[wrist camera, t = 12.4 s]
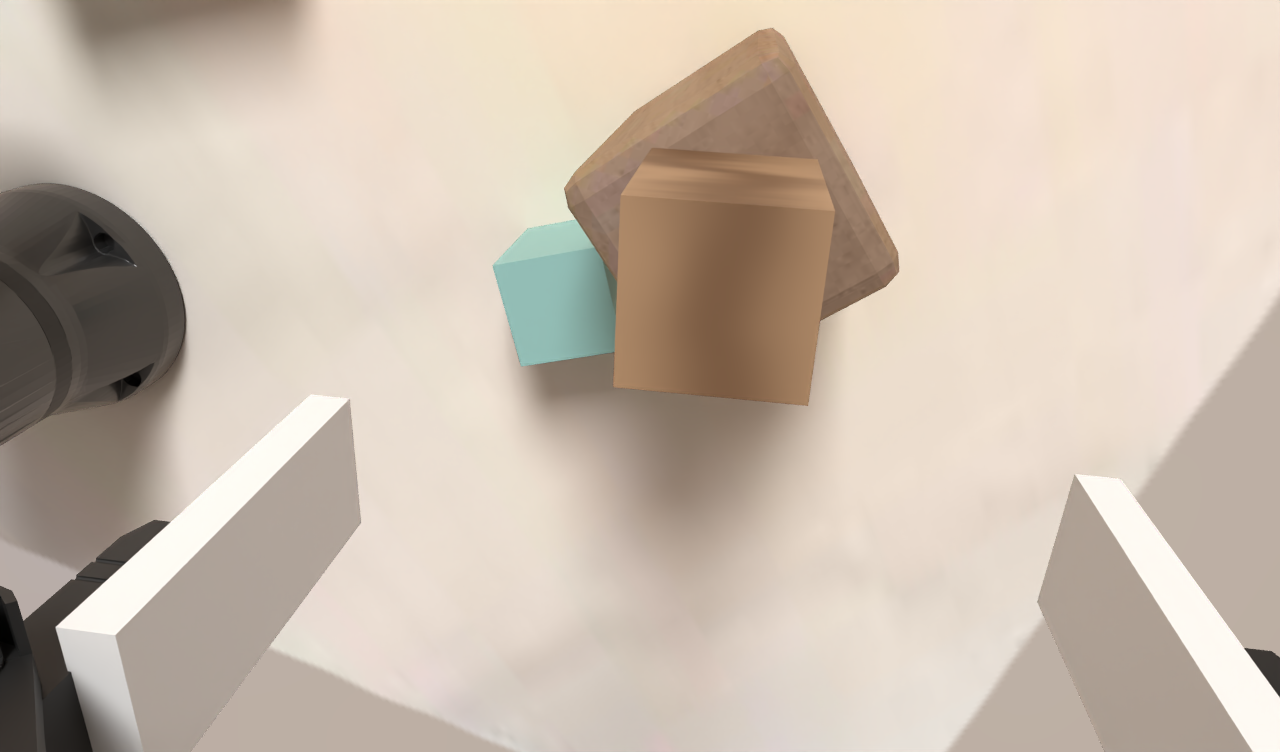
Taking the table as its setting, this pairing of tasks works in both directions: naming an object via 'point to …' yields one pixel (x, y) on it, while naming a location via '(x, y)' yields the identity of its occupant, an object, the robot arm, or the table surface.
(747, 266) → the walnut block
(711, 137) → the block
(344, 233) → the table surface
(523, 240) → the teal block
